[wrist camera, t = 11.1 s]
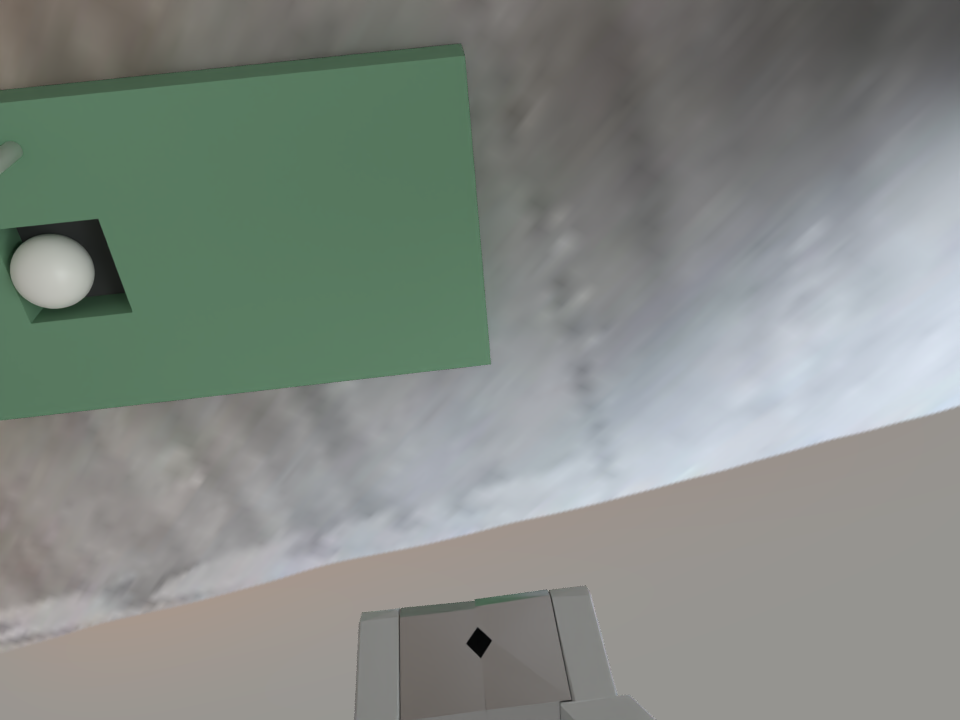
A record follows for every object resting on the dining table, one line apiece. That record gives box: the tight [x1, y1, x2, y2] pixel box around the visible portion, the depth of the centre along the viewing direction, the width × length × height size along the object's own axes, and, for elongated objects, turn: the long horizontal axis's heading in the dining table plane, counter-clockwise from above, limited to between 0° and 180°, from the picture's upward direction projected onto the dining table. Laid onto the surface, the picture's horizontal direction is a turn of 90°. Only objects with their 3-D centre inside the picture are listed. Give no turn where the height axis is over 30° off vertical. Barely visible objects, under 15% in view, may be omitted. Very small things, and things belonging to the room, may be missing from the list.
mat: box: [0, 44, 491, 420], centre depth 33 cm, size 28×16×16 cm, turn 94°
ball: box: [10, 234, 95, 309], centre depth 38 cm, size 4×4×4 cm
